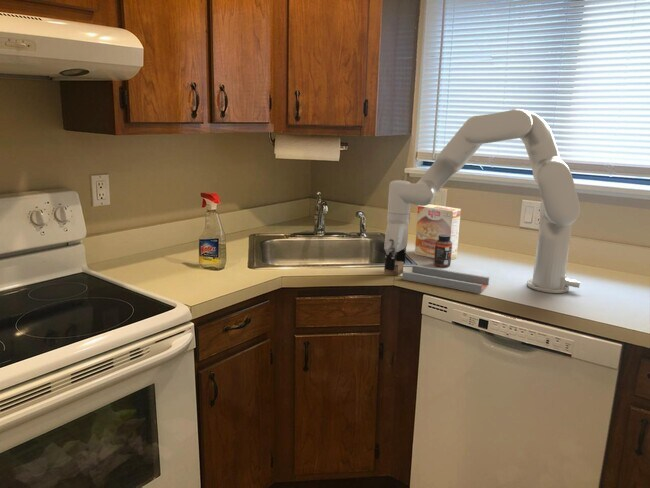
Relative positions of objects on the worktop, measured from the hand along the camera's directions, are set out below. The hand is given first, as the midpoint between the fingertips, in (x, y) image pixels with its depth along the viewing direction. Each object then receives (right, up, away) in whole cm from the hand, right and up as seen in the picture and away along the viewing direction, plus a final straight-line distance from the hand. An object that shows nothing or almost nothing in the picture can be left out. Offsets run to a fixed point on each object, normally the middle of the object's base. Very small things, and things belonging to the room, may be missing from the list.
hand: (395, 266), depth 186 cm
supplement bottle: (+19, 0, +12) cm, 22 cm away
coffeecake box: (+19, +3, +24) cm, 31 cm away
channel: (+15, -5, -8) cm, 18 cm away
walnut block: (0, -3, +1) cm, 3 cm away
